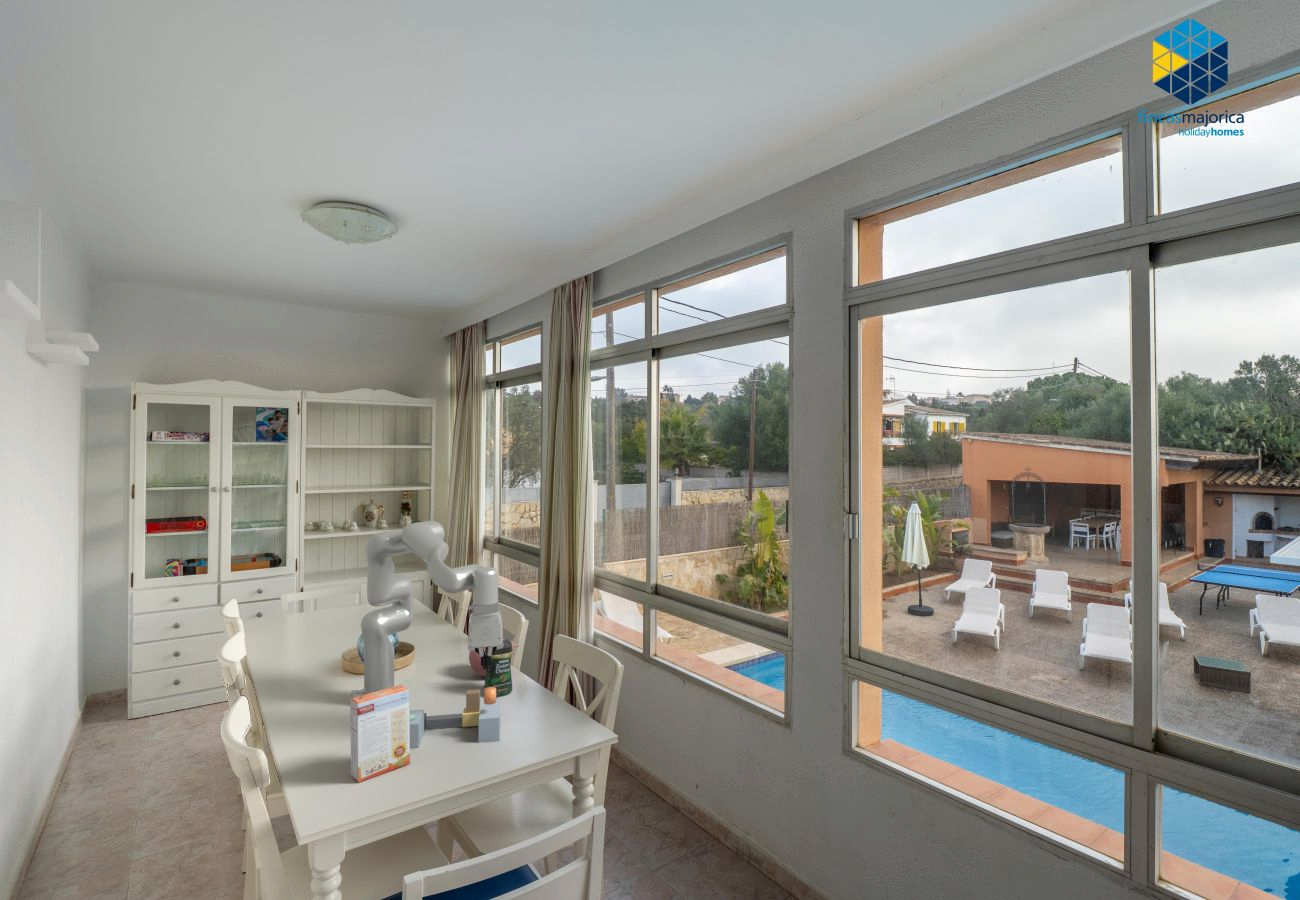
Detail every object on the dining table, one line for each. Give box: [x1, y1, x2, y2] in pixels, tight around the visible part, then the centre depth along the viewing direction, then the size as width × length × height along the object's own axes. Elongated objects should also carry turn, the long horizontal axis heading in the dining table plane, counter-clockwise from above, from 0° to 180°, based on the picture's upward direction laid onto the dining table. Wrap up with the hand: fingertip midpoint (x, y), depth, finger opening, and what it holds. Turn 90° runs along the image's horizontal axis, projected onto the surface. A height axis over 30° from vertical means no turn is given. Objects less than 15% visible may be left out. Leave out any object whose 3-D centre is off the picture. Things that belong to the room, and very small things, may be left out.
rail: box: [424, 712, 470, 731], centre depth 195 cm, size 20×3×4 cm, turn 101°
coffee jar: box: [483, 639, 514, 698], centre depth 221 cm, size 10×8×19 cm
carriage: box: [461, 689, 481, 728], centre depth 196 cm, size 6×5×10 cm
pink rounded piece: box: [468, 638, 520, 677], centre depth 239 cm, size 15×20×15 cm
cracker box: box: [349, 684, 411, 783], centre depth 168 cm, size 14×6×21 cm, turn 134°
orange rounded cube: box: [483, 687, 497, 705], centre depth 188 cm, size 4×4×4 cm
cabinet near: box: [409, 709, 425, 749], centre depth 185 cm, size 7×10×8 cm
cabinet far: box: [478, 703, 502, 743], centre depth 190 cm, size 6×10×7 cm, turn 11°
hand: (486, 667), depth 191 cm, fingers closed
